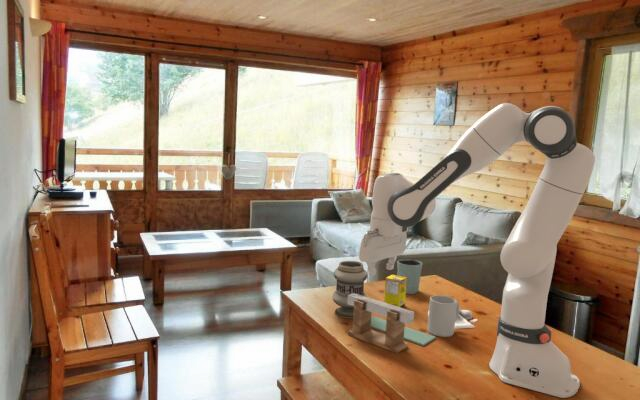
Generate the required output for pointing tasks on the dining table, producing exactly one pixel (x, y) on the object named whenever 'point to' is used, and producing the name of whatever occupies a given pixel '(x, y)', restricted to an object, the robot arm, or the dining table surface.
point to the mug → (442, 315)
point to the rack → (363, 332)
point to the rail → (382, 308)
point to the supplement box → (395, 290)
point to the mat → (409, 333)
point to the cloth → (463, 319)
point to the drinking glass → (410, 274)
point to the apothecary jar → (348, 285)
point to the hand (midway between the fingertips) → (381, 272)
